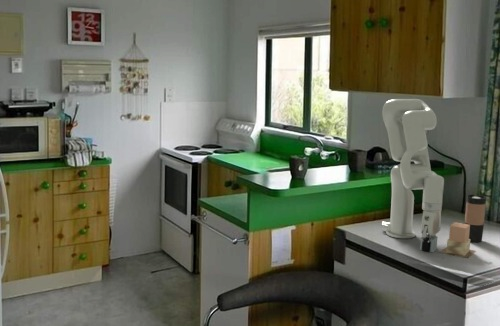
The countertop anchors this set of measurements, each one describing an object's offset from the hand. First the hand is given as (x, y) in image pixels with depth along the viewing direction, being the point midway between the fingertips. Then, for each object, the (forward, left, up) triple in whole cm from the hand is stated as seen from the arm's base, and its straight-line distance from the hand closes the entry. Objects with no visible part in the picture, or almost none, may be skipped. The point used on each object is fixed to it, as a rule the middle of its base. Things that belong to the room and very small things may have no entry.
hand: (428, 248), depth 232 cm
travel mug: (+11, +24, -2) cm, 26 cm away
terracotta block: (+10, +5, +5) cm, 12 cm away
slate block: (0, 0, -1) cm, 1 cm away
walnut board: (+10, +5, -1) cm, 11 cm away
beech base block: (+10, +5, 0) cm, 11 cm away
